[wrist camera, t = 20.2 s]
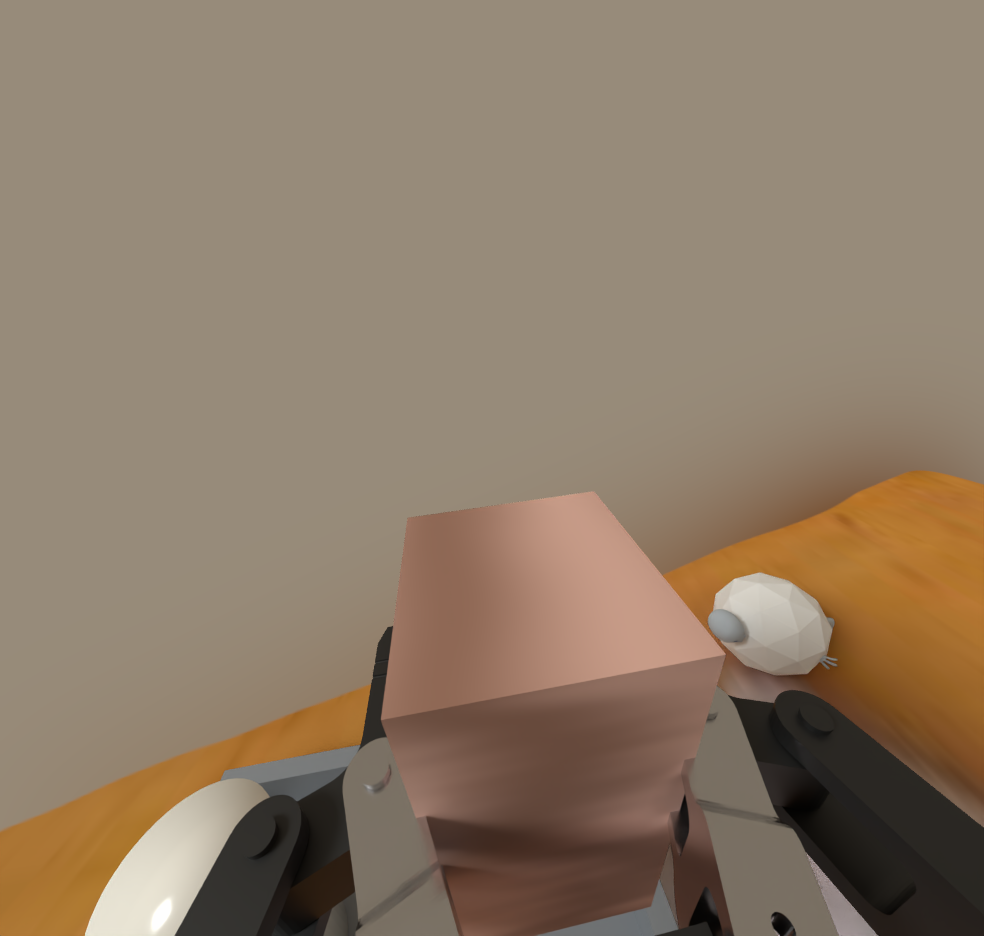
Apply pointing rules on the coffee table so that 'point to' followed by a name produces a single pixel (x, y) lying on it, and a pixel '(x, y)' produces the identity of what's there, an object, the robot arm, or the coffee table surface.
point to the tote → (299, 779)
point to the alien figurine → (771, 625)
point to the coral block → (543, 709)
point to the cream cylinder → (179, 864)
